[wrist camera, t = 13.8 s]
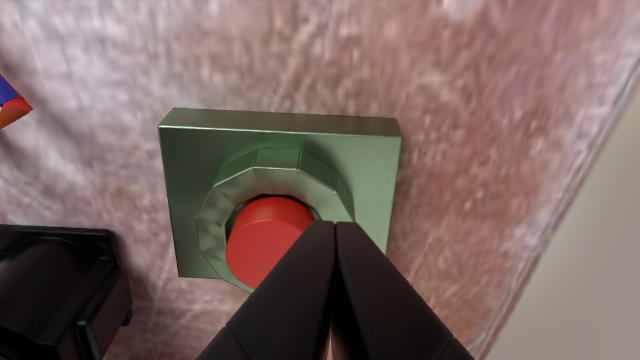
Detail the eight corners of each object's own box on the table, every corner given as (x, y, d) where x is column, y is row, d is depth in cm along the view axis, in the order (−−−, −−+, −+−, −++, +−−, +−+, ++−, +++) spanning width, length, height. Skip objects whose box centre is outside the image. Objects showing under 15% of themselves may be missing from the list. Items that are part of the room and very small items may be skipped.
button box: (190, 250, 24) (166, 304, 20) (173, 106, 20) (139, 143, 17) (377, 259, 24) (385, 314, 20) (396, 117, 20) (410, 156, 17)
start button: (235, 264, 20) (227, 291, 18) (231, 193, 18) (222, 217, 16) (317, 268, 20) (316, 296, 18) (321, 197, 18) (320, 222, 16)
